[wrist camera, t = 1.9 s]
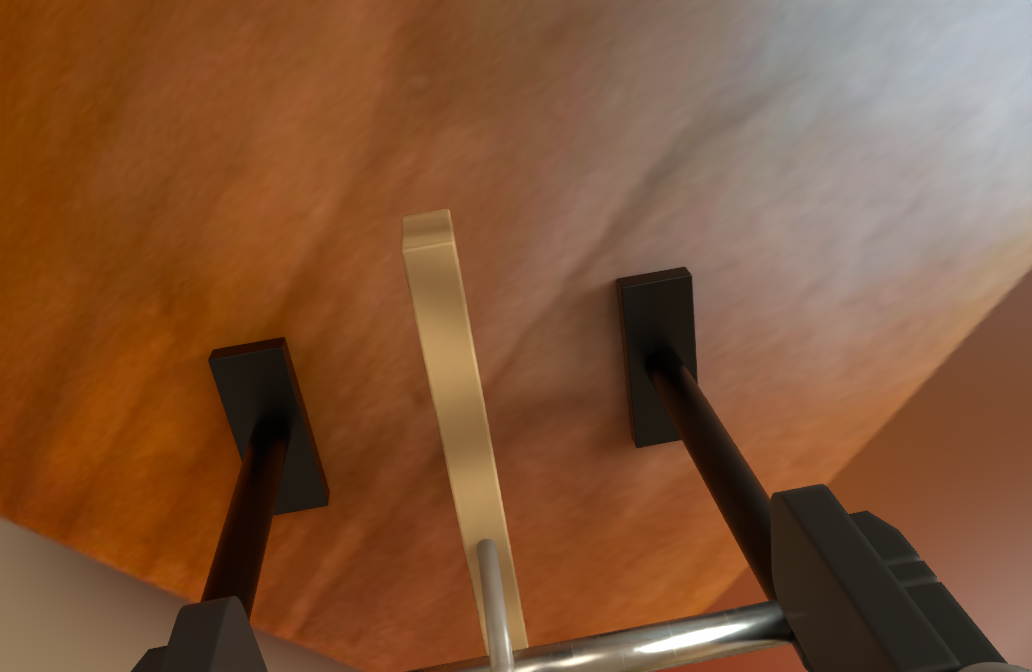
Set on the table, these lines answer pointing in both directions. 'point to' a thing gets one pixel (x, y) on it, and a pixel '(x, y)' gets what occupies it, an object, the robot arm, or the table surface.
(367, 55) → the table surface
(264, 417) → the rail stand
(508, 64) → the table surface
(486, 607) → the hanger
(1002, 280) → the table surface
